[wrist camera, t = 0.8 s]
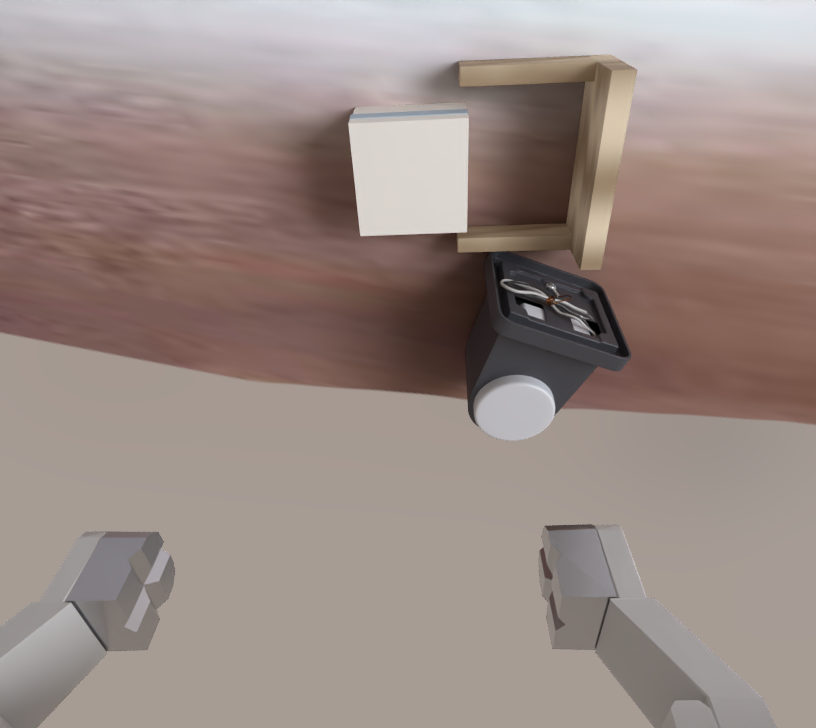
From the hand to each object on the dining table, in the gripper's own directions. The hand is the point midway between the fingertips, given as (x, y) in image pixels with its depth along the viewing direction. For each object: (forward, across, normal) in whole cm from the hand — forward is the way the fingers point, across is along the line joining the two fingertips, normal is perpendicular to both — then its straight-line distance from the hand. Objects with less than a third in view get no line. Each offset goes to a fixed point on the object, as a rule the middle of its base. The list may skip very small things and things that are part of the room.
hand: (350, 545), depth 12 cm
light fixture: (+37, -9, +17) cm, 42 cm away
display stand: (+37, -8, +2) cm, 38 cm away
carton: (+37, 0, +2) cm, 37 cm away
